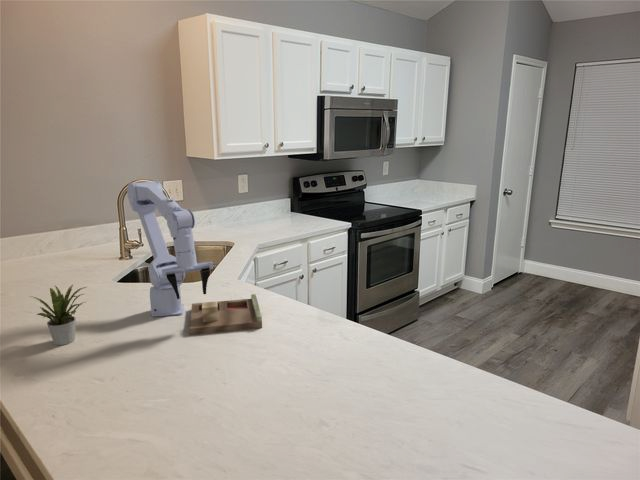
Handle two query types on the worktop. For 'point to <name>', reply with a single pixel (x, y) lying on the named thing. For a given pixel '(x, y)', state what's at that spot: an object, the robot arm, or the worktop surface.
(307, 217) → the worktop surface
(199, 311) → the trap deck
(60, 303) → the house plant
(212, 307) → the maple block
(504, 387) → the worktop surface
